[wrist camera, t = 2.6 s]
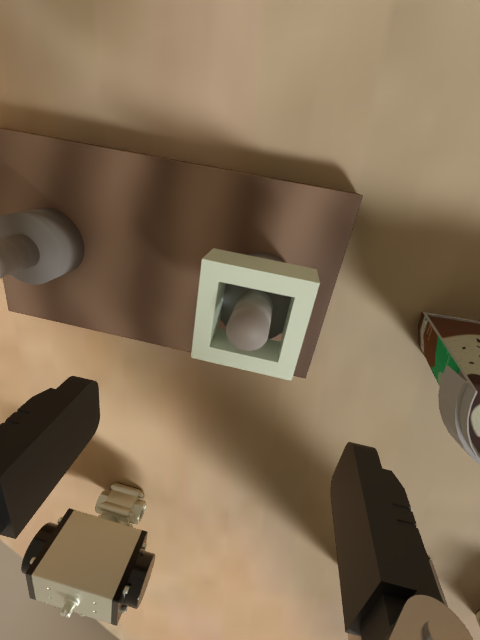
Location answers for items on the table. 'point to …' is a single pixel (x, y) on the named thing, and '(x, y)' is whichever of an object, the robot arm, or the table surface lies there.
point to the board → (156, 241)
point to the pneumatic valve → (92, 558)
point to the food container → (455, 374)
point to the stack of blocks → (478, 617)
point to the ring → (259, 276)
